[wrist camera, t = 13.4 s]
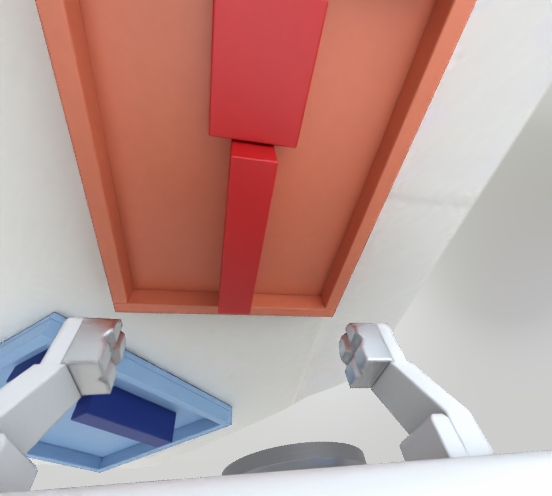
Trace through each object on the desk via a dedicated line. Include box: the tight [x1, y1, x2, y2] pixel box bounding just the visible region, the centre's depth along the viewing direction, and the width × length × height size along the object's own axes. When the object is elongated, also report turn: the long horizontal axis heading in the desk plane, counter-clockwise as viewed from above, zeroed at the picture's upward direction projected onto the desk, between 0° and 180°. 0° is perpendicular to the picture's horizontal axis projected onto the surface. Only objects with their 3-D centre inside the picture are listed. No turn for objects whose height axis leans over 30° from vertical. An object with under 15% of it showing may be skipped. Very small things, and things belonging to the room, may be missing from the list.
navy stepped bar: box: [6, 349, 176, 448], centre depth 24 cm, size 14×4×3 cm, turn 30°
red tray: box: [35, 0, 477, 317], centre depth 14 cm, size 18×14×2 cm
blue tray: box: [0, 312, 232, 473], centre depth 26 cm, size 20×19×2 cm
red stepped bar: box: [209, 0, 328, 314], centre depth 13 cm, size 14×4×3 cm, turn 170°
